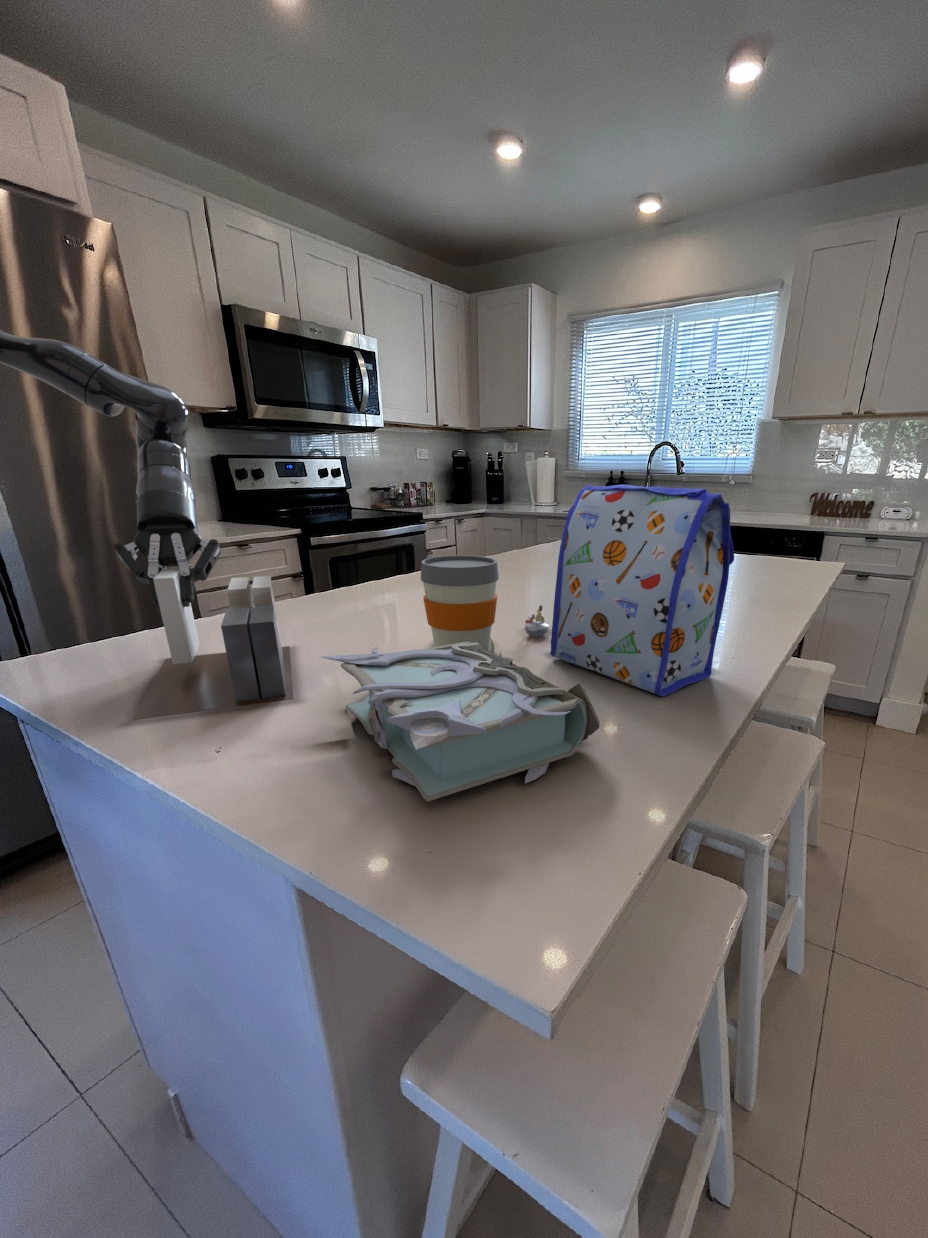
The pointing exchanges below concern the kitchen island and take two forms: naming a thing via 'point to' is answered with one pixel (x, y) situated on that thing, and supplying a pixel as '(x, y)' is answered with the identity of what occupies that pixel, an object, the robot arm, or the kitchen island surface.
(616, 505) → the lunch bag
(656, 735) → the kitchen island surface
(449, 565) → the reusable coffee cup
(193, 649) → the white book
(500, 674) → the ornate book
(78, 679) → the kitchen island surface
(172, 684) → the shelf board
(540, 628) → the figurine
